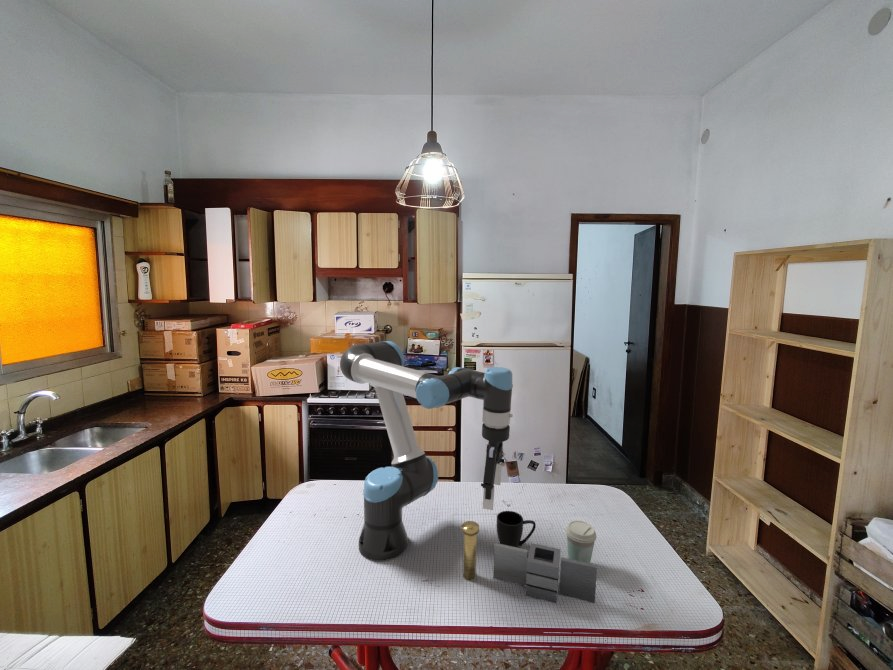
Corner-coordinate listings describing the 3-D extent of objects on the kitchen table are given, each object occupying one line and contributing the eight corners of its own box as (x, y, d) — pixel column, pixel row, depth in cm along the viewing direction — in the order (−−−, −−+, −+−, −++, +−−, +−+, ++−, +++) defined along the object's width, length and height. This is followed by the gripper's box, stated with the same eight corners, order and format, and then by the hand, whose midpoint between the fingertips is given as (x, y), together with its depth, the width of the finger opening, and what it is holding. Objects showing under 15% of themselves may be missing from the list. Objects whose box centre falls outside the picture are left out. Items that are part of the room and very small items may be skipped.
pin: (458, 579, 114) (459, 529, 112) (463, 568, 118) (464, 519, 116) (475, 584, 112) (476, 532, 110) (479, 572, 117) (481, 522, 115)
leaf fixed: (525, 595, 108) (527, 561, 107) (529, 575, 116) (530, 542, 114) (595, 613, 103) (597, 577, 102) (594, 590, 110) (596, 556, 109)
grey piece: (490, 586, 111) (491, 553, 110) (496, 567, 119) (497, 535, 117) (556, 603, 106) (558, 568, 104) (558, 582, 113) (560, 549, 112)
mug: (535, 557, 123) (536, 528, 122) (495, 553, 125) (496, 524, 124) (533, 540, 131) (534, 512, 130) (496, 536, 133) (497, 509, 132)
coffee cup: (574, 578, 115) (576, 538, 113) (558, 558, 123) (560, 521, 122) (600, 573, 117) (603, 534, 116) (582, 553, 125) (585, 517, 124)
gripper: (503, 443, 99) (498, 523, 102) (514, 411, 123) (510, 477, 126) (473, 438, 101) (469, 517, 104) (490, 408, 125) (486, 473, 128)
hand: (492, 495), depth 115 cm, fingers open, 13 cm apart
